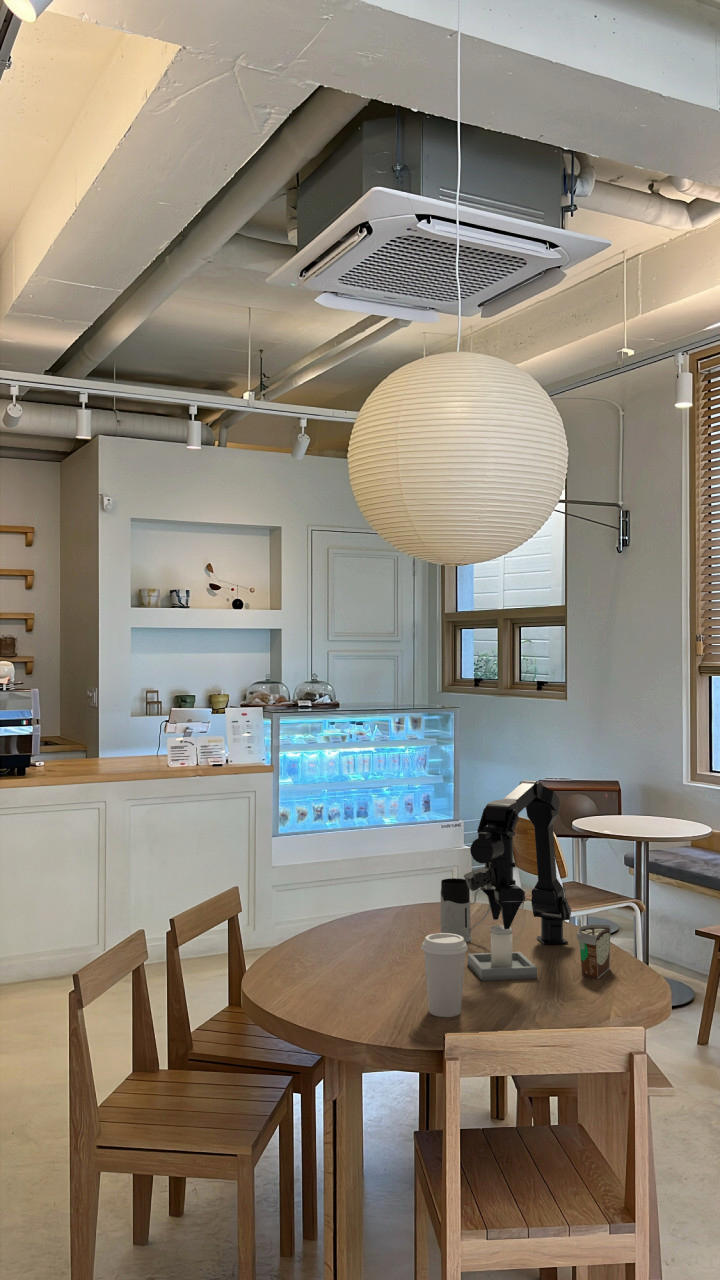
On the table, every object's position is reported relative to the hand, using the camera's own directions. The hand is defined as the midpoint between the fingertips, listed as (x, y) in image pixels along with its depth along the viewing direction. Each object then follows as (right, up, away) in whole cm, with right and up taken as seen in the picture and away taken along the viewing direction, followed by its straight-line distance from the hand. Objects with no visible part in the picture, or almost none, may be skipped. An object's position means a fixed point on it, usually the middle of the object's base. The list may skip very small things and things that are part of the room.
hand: (501, 924), depth 228 cm
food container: (+21, -11, -1) cm, 24 cm away
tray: (0, -11, 0) cm, 11 cm away
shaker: (0, -10, 0) cm, 10 cm away
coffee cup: (-16, -10, -28) cm, 34 cm away
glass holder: (-5, -12, +28) cm, 31 cm away
